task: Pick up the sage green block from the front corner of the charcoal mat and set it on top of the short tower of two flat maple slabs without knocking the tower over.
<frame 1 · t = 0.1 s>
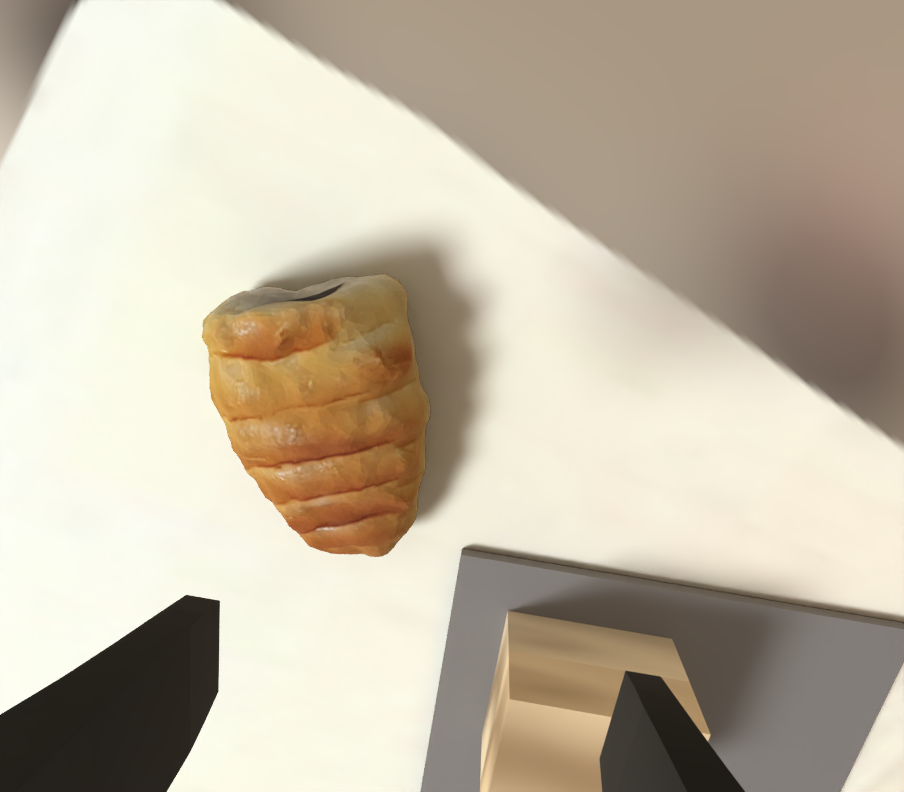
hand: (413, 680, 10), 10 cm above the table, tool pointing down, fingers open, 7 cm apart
tower top slab: (579, 734, 20), point 2 cm above the table, touching tower base slab
pastry: (343, 391, 20), on the table
mat: (618, 788, 24), on the table
tower base slab: (572, 689, 22), resting on mat, touching tower top slab
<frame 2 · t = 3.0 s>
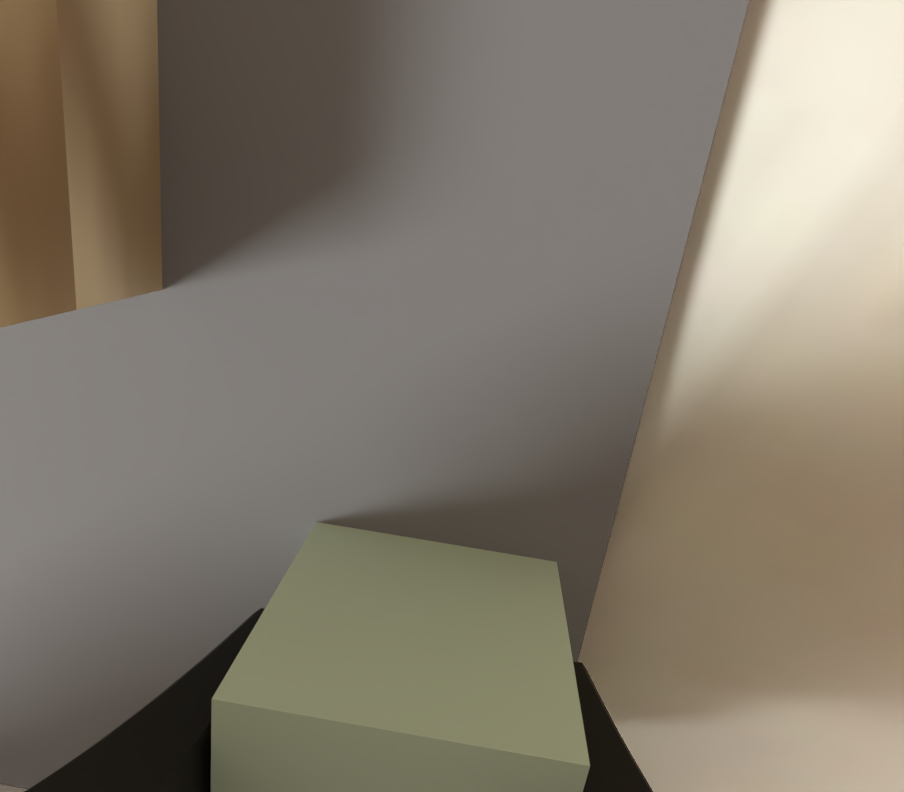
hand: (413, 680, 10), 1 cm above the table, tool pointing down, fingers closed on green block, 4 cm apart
green block: (420, 640, 11), resting on mat, touching gripper
mat: (176, 397, 10), on the table
when the fingers open (7 cm above the table, at t = 7.1 s): green block drops 1 cm, resting on tower top slab.
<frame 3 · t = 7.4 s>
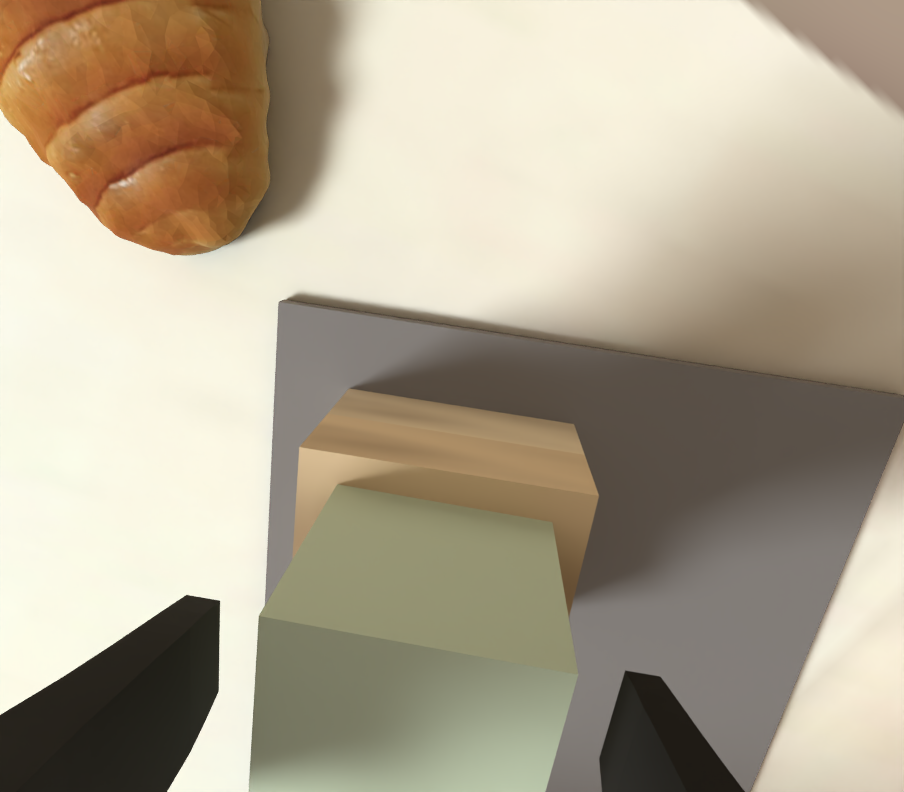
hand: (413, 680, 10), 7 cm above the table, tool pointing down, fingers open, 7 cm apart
tower top slab: (438, 545, 14), point 2 cm above the table, touching green block, tower base slab
green block: (428, 593, 12), point 4 cm above the table, touching tower top slab
pastry: (156, 21, 14), on the table
mat: (519, 656, 18), on the table
tower base slab: (445, 506, 16), resting on mat, touching tower top slab
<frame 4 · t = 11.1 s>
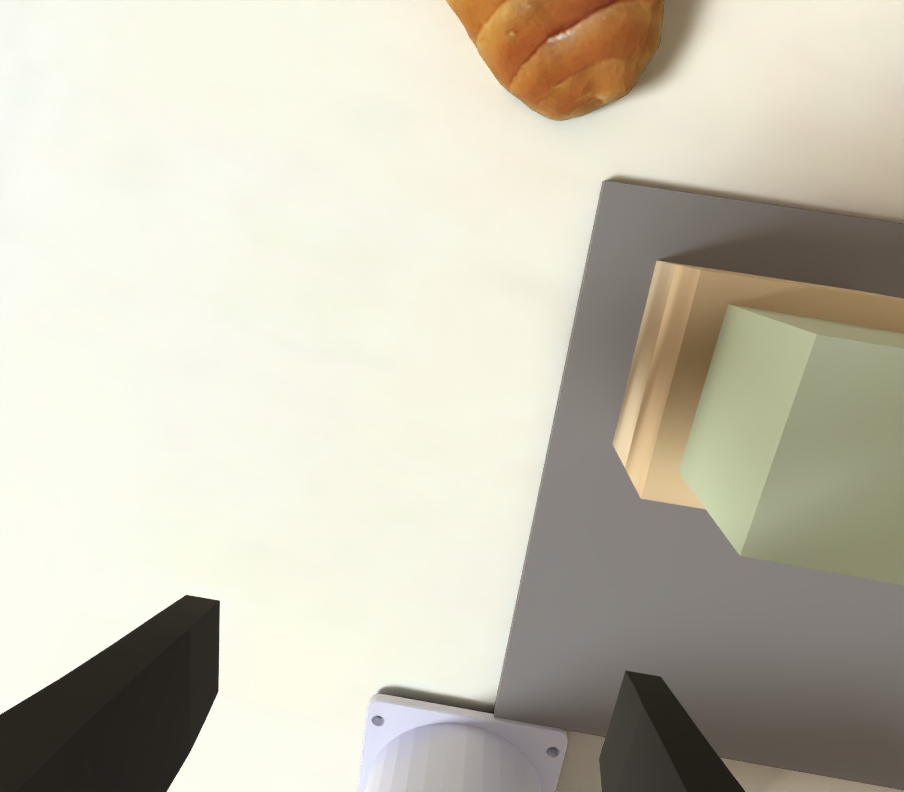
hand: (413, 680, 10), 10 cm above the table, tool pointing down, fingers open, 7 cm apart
tower top slab: (755, 388, 16), point 2 cm above the table, touching green block, tower base slab
green block: (790, 406, 14), point 4 cm above the table, touching tower top slab
mat: (770, 521, 20), on the table
tower base slab: (728, 371, 18), resting on mat, touching tower top slab
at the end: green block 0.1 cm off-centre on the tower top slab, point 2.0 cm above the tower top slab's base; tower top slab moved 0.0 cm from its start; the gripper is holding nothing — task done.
